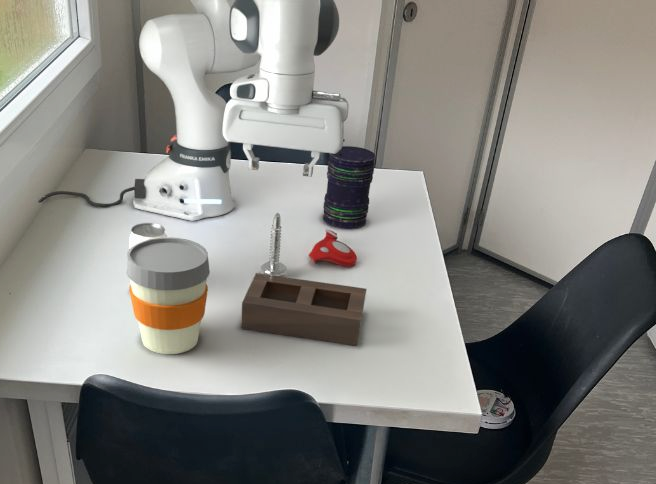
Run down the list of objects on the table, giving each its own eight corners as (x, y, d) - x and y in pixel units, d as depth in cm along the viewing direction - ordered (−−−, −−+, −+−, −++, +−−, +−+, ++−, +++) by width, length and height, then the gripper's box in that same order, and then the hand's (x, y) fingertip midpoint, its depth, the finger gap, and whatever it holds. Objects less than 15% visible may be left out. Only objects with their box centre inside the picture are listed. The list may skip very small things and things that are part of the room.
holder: (356, 346, 119) (360, 319, 117) (240, 328, 122) (242, 302, 119) (362, 313, 128) (366, 288, 125) (254, 297, 131) (255, 272, 128)
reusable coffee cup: (142, 366, 111) (137, 278, 102) (122, 326, 120) (116, 242, 111) (220, 352, 115) (221, 266, 107) (194, 314, 125) (194, 232, 116)
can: (139, 303, 126) (136, 239, 119) (127, 287, 131) (123, 224, 124) (174, 297, 129) (173, 234, 122) (161, 281, 134) (159, 219, 127)
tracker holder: (368, 258, 144) (331, 257, 138) (358, 276, 146) (321, 276, 140) (336, 223, 150) (299, 220, 144) (327, 241, 153) (290, 239, 147)
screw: (276, 270, 140) (290, 280, 137) (255, 275, 138) (269, 286, 135) (281, 205, 132) (296, 215, 129) (258, 210, 130) (273, 219, 127)
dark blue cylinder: (355, 210, 167) (366, 130, 157) (373, 227, 160) (386, 145, 149) (315, 213, 164) (323, 132, 154) (331, 231, 157) (341, 147, 146)
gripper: (351, 90, 119) (342, 173, 127) (229, 77, 121) (228, 159, 129) (347, 99, 114) (338, 185, 122) (220, 85, 116) (219, 171, 124)
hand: (280, 172), depth 125 cm, fingers open, 8 cm apart
